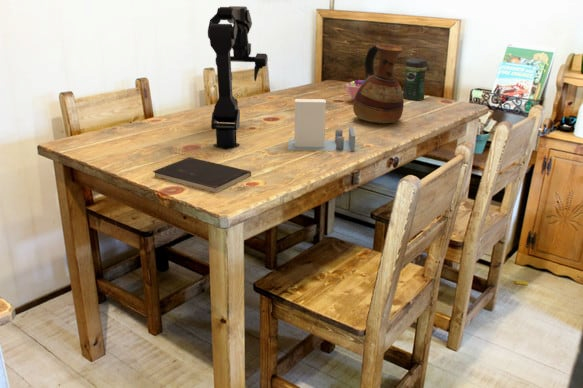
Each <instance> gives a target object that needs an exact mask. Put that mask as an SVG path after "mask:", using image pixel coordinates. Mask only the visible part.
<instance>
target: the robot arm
mask: <svg viewBox="0 0 583 388" xmlns="http://www.w3.org/2000/svg"><path fill="white" fill-rule="evenodd" d="M221 21H227V22H228V23H221ZM208 22H209V24H208V27H207V38H208V39H209V46H210V47H211V49H212V50H213V51H214V53H215V65H216V73H217V75H216V76H217V85H218V86H217V88H218V91H217V92H218V99H217V101H216V103H215V104H214V109H213V112H212V114H211V122H210V123H211V125H210V126H211V127H210V128H211V130H215V135H216V136H215V137H216V138H215V139H216V143H215V144H213V145H212V146H213V147H216V148H220V149H224V150H230V149H232V148H235V147H239V146H240V143H237V131H238V129H239V128H240V124H241V123H240V122H241V121H240V120H241V115H240V114H241V112H240V109H239V106H238V105H239V103H238V99H237V98H235V97H234V96H233V82H232V81H233V74H232V63H233V62H237V63H240V62H241V63H254V67H253V68H254V70H253V71H254V72H253V75H254V76H253V79H254V82H256V81H257V78H258V74H259V71H260V69H263V68H265V67H266V66H267V63H268V61H269V59H268V54H267V53H259V52H257V53H256V56H251V54H252V53H251V52H252V43H249V35H248V34H249V33H250V30H251V29H252V25H253V22H252V17H251V13H250V10H249V9H248V7H247V6H243V5H242V6H241V5H240V6H239V5H238V6H237V5H235V6H232V5H230V6H220V7H218V8H217V12H216V14H214V16H212V17H211V18H210V20H209V21H208ZM232 50H233V51H232ZM231 52H233V55H231Z"/></svg>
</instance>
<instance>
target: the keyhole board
mask: <svg viewBox="0 0 583 388" xmlns="http://www.w3.org/2000/svg"><path fill="white" fill-rule="evenodd" d="M334 132H335V135H334V140H333V139H330V140H329V139H325V144H324V147H295V146H294V139H290V138H289V140H288V147H287V150H288V151H318V152H319V151H321V152H324V151H326V152H327V151H329V152H331V151H333V152H335V151H336V152H356V148H355V147H356V134H355V130H354V127H353V126H348V140H345V136H343V129H335V131H334Z"/></svg>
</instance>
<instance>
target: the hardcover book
mask: <svg viewBox="0 0 583 388" xmlns="http://www.w3.org/2000/svg"><path fill="white" fill-rule="evenodd" d="M152 173H154V177H155V176H156V177H155V178H158V177H160V178H159V179H162V178H164V179H163V180H166V179H167V180H166V181H170V180H171V181H170V182H174V181H175V183H177V182H178V184H181V183H182V185H185V184H186V185H185V186H189V185H190V186H189V187H192V186H194V188H196V187H197V189H201V190H205V191H208V192H211V191H212V192H213V193H216V194H217V193H218V192H220V191H222V190H224V189H227V188H228V187H229V188H230V187H231V186H233V185H235V184H237V183H239V182H241V181H244V180H246V179H247V178H249V177H251V176H252V173H251V170H247V169H243V168H239V167H233V166H230V165H226V164H220V163H216V162H212V161H208V160H203V159H199V158H195V157H192V156H191V157H186V158H183V159H181V160H179V161H176V162H173V163H171V164H168V165H166V166H163V167H159V168H158V169H155V170H152Z"/></svg>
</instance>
